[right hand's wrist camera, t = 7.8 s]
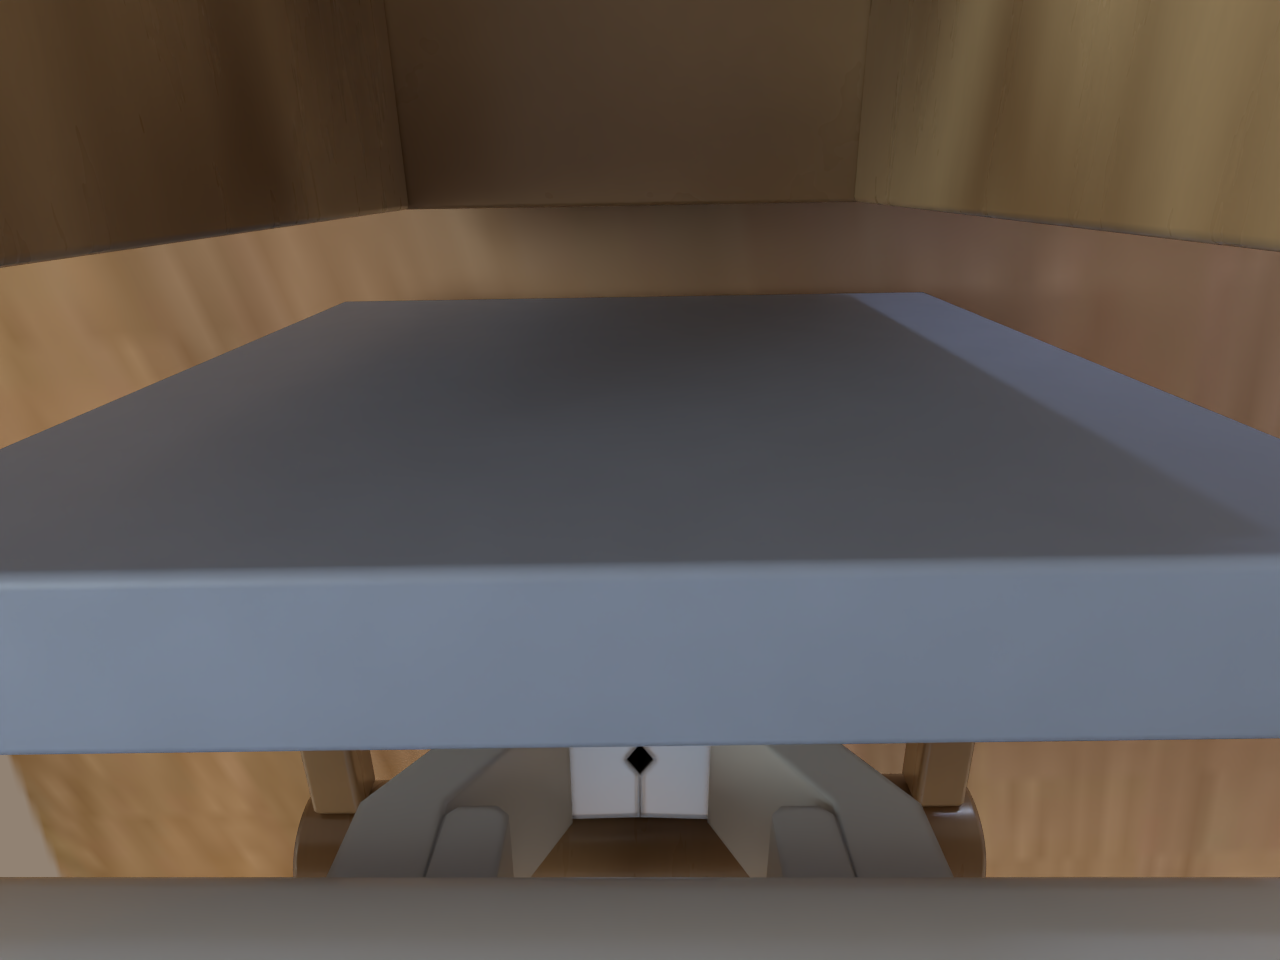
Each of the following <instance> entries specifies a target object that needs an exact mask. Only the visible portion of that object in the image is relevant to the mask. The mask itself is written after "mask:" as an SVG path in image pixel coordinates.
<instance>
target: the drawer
mask: <svg viewBox="0 0 1280 960" xmlns="http://www.w3.org/2000/svg"><path fill="white" fill-rule="evenodd" d="M807 202H864V203H872V204H881V205H889V206H898V207H906V208H914V209H923V210H931V211H940V212H948V213H956V214H965V215H973V216H982V217H990V218H999V219H1007V220H1015V221H1024V222H1032V223H1041V224H1049V225H1057V226H1066V227H1074V228H1083V229H1091V230H1099V231H1108V232H1116V233H1125V234H1133V235H1141V236H1150V237H1158V238H1167V239H1175V240H1184V241H1192V242H1200V243H1209V244H1217V245H1226V246H1234V247H1242V248H1251V249H1259V250H1268V251H1276V252H1280V0H0V268H2V267H9V266H16V265H23V264H30V263H37V262H44V261H51V260H58V259H65V258H72V257H79V256H85V255H92V254H99V253H106V252H113V251H120V250H127V249H134V248H141V247H148V246H155V245H162V244H169V243H176V242H183V241H190V240H197V239H204V238H211V237H218V236H225V235H232V234H239V233H246V232H253V231H260V230H267V229H274V228H280V227H287V226H294V225H301V224H308V223H315V222H322V221H329V220H336V219H343V218H350V217H357V216H364V215H371V214H378V213H385V212H392V211H399V210H405V209H458V208H516V207H574V206H632V205H691V204H749V203H807ZM1258 738H1280V439H1279V438H1276V437H1274V436H1271V435H1269V434H1266V433H1264V432H1262V431H1259V430H1257V429H1254V428H1252V427H1249V426H1247V425H1245V424H1242V423H1240V422H1237V421H1235V420H1232V419H1230V418H1227V417H1225V416H1223V415H1220V414H1218V413H1215V412H1213V411H1210V410H1208V409H1206V408H1203V407H1201V406H1198V405H1196V404H1193V403H1191V402H1189V401H1186V400H1184V399H1181V398H1179V397H1176V396H1174V395H1172V394H1169V393H1167V392H1164V391H1162V390H1159V389H1157V388H1155V387H1152V386H1150V385H1147V384H1145V383H1142V382H1140V381H1138V380H1135V379H1133V378H1130V377H1128V376H1125V375H1123V374H1121V373H1118V372H1116V371H1113V370H1111V369H1108V368H1106V367H1103V366H1101V365H1099V364H1096V363H1094V362H1091V361H1089V360H1086V359H1084V358H1082V357H1079V356H1077V355H1074V354H1072V353H1069V352H1067V351H1065V350H1062V349H1060V348H1057V347H1055V346H1052V345H1050V344H1048V343H1045V342H1043V341H1040V340H1038V339H1035V338H1033V337H1031V336H1028V335H1026V334H1023V333H1021V332H1018V331H1016V330H1014V329H1011V328H1009V327H1006V326H1004V325H1001V324H999V323H997V322H994V321H992V320H989V319H987V318H984V317H982V316H979V315H977V314H975V313H972V312H970V311H967V310H965V309H962V308H960V307H958V306H955V305H953V304H950V303H948V302H945V301H943V300H941V299H938V298H936V297H933V296H931V295H928V294H926V293H924V292H909V293H849V294H788V295H727V296H667V297H606V298H545V299H484V300H424V301H363V302H344V303H341V304H339V305H337V306H334V307H332V308H330V309H327V310H325V311H323V312H320V313H318V314H316V315H313V316H311V317H309V318H306V319H304V320H302V321H299V322H297V323H295V324H292V325H290V326H288V327H285V328H283V329H281V330H278V331H276V332H274V333H271V334H269V335H267V336H264V337H262V338H260V339H257V340H255V341H253V342H250V343H248V344H246V345H243V346H241V347H238V348H236V349H234V350H231V351H229V352H227V353H224V354H222V355H220V356H217V357H215V358H213V359H210V360H208V361H206V362H203V363H201V364H199V365H196V366H194V367H192V368H189V369H187V370H185V371H182V372H180V373H178V374H175V375H173V376H171V377H168V378H166V379H164V380H161V381H159V382H157V383H154V384H152V385H150V386H147V387H145V388H143V389H140V390H138V391H136V392H133V393H131V394H129V395H126V396H124V397H122V398H119V399H117V400H114V401H112V402H110V403H107V404H105V405H103V406H100V407H98V408H96V409H93V410H91V411H89V412H86V413H84V414H82V415H79V416H77V417H75V418H72V419H70V420H68V421H65V422H63V423H61V424H58V425H56V426H54V427H51V428H49V429H47V430H44V431H42V432H40V433H37V434H35V435H33V436H30V437H28V438H26V439H23V440H21V441H19V442H16V443H14V444H12V445H9V446H7V447H5V448H2V449H0V755H18V754H95V753H173V752H250V751H300V752H301V756H302V760H303V765H304V769H305V773H306V778H307V782H308V786H309V791H310V795H311V797H310V799H309V800H308V802H307V804H306V807H305V809H304V812H303V814H302V817H301V820H300V824H299V828H298V832H297V836H296V842H295V849H294V859H293V877H327V874H328V872H329V870H330V868H331V866H332V863H333V861H334V859H335V857H336V855H337V852H338V850H339V848H340V846H341V844H342V841H343V839H344V837H345V835H346V833H347V830H348V828H349V826H350V824H351V822H352V819H353V817H354V815H355V813H356V811H357V808H358V806H359V804H360V802H362V801H363V800H364V799H366V798H367V797H368V796H370V795H371V794H372V793H374V792H375V791H376V790H378V789H379V788H380V787H382V786H383V785H384V784H386V783H387V782H388V781H390V780H375V775H374V770H373V765H372V759H371V754H370V750H405V749H483V748H560V747H638V746H715V745H793V744H870V743H906V750H905V757H904V764H903V771H902V773H903V774H882V775H883V776H885V777H886V778H887V779H889V780H890V781H891V782H893V783H894V784H895V785H897V786H898V787H899V788H901V789H902V790H903V791H905V792H906V793H907V794H909V795H910V796H911V797H913V798H914V799H915V800H917V801H918V802H919V803H921V805H922V807H923V810H924V812H925V814H926V816H927V818H928V821H929V823H930V825H931V827H932V830H933V832H934V834H935V836H936V839H937V841H938V843H939V845H940V847H941V850H942V852H943V854H944V856H945V859H946V861H947V863H948V865H949V867H950V870H951V872H952V874H953V876H954V877H985V876H986V850H985V841H984V835H983V830H982V825H981V821H980V818H979V814H978V811H977V808H976V805H975V803H974V800H973V798H972V796H971V794H970V792H969V790H968V788H967V782H968V777H969V771H970V766H971V760H972V755H973V750H974V744H975V742H1025V741H1103V740H1180V739H1258ZM531 877H749V875H748V874H747V873H746V872H745V870H744V869H743V868H742V866H741V865H740V864H739V862H738V861H737V860H736V859H735V857H734V856H733V855H732V853H731V852H730V851H729V849H728V848H727V847H726V846H725V844H724V843H723V842H722V840H721V839H720V838H719V836H718V835H717V834H716V833H715V831H714V830H713V829H712V827H711V826H710V825H709V823H708V819H690V818H654V817H641V806H640V817H624V818H589V819H573V823H572V824H571V826H570V827H569V828H568V829H567V831H566V832H565V833H564V835H563V836H562V837H561V839H560V840H559V841H558V842H557V844H556V845H555V846H554V848H553V849H552V850H551V851H550V853H549V854H548V855H547V857H546V858H545V859H544V861H543V862H542V863H541V864H540V866H539V867H538V868H537V870H536V871H535V872H534V873H533V875H532V876H531Z"/></svg>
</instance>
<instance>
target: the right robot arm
mask: <svg viewBox="0 0 1280 960" xmlns="http://www.w3.org/2000/svg"><path fill="white" fill-rule="evenodd" d="M640 806H641V817H654V818H690V819H708V823H709V825H710V826H711V827H712V829H713V830H714V831H715V833H716V834H717V835H718V836H719V838H720V839H721V840H722V842H723V843H724V844H725V846H726V847H727V848H728V849H729V851H730V852H731V853H732V855H733V856H734V857H735V859H736V860H737V861H738V862H739V864H740V865H741V866H742V868H743V869H744V870H745V872H746V873H747V874H748V875H749V877H531V876H532V875H533V873H534V872H535V871H536V870H537V868H538V867H539V866H540V864H541V863H542V862H543V861H544V859H545V858H546V857H547V855H548V854H549V853H550V851H551V850H552V849H553V848H554V846H555V845H556V844H557V842H558V841H559V840H560V839H561V837H562V836H563V835H564V833H565V832H566V831H567V829H568V828H569V827H570V826H571V824H572V823H573V819H589V818H624V817H640ZM0 960H1280V877H954V876H953V874H952V872H951V870H950V867H949V865H948V863H947V861H946V859H945V856H944V854H943V852H942V850H941V847H940V845H939V843H938V841H937V839H936V836H935V834H934V832H933V830H932V827H931V825H930V823H929V821H928V818H927V816H926V814H925V812H924V810H923V807H922V805H921V803H919V802H918V801H917V800H915V799H914V798H913V797H911V796H910V795H909V794H907V793H906V792H905V791H903V790H902V789H901V788H899V787H898V786H897V785H895V784H894V783H893V782H891V781H890V780H889V779H887V778H886V777H885V776H883V775H882V774H881V773H879V772H878V771H876V770H875V769H874V768H872V767H871V766H870V765H868V764H867V763H866V762H864V761H863V760H862V759H860V758H859V757H858V756H856V755H855V754H854V753H852V752H851V751H850V750H848V749H847V748H846V747H844V746H843V745H842V744H793V745H715V746H638V747H560V748H483V749H431V750H430V751H429V752H427V753H426V754H425V755H423V756H422V757H421V758H419V759H418V760H417V761H415V762H414V763H413V764H411V765H410V766H409V767H407V768H406V769H405V770H403V771H402V772H400V773H399V774H398V775H396V776H395V777H394V778H392V779H391V780H390V781H388V782H387V783H386V784H384V785H383V786H382V787H380V788H379V789H378V790H376V791H375V792H374V793H372V794H371V795H370V796H368V797H367V798H366V799H364V800H363V801H362V802H360V804H359V806H358V808H357V811H356V813H355V815H354V817H353V819H352V822H351V824H350V826H349V828H348V830H347V833H346V835H345V837H344V839H343V841H342V844H341V846H340V848H339V850H338V852H337V855H336V857H335V859H334V861H333V863H332V866H331V868H330V870H329V872H328V874H327V877H0Z"/></svg>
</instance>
